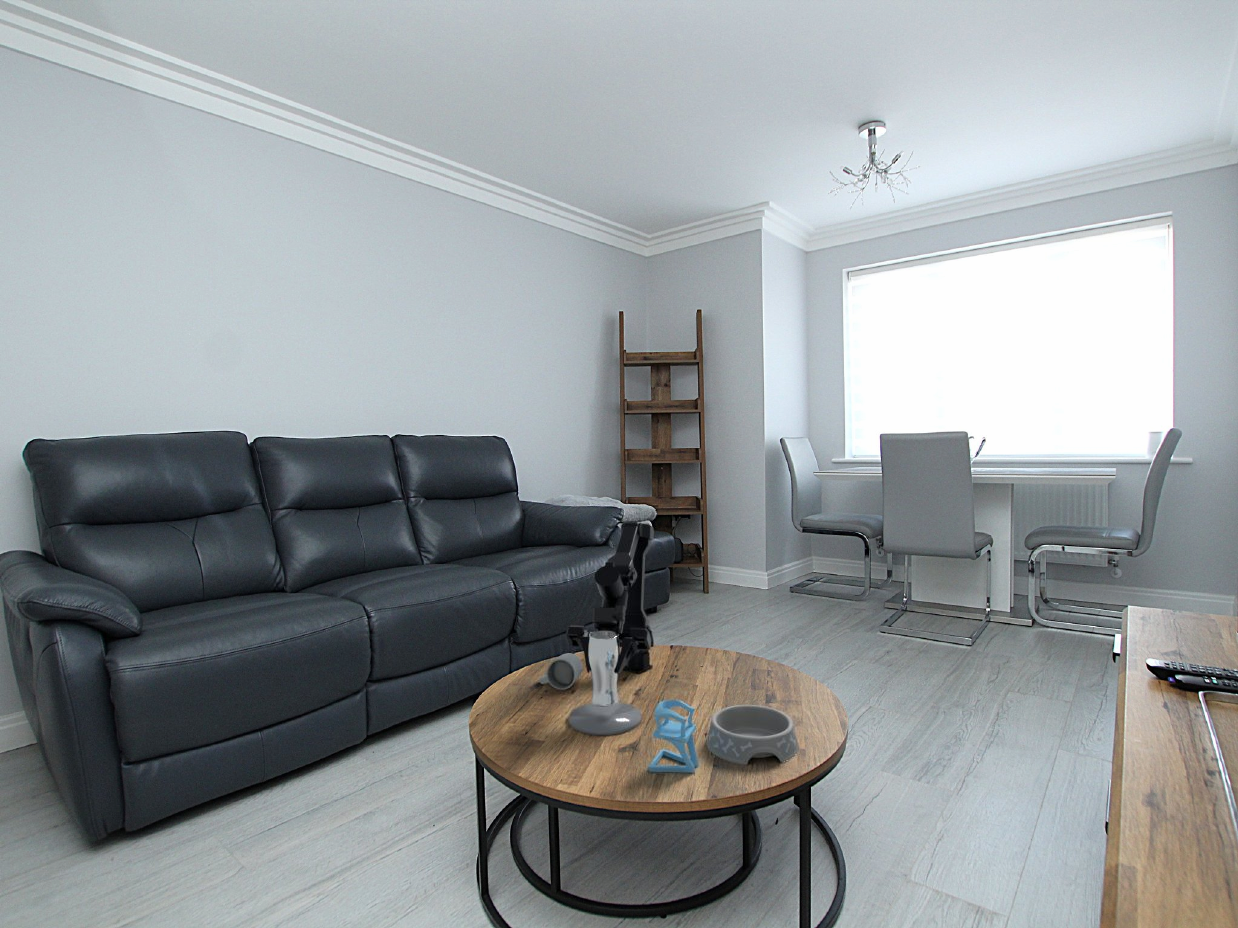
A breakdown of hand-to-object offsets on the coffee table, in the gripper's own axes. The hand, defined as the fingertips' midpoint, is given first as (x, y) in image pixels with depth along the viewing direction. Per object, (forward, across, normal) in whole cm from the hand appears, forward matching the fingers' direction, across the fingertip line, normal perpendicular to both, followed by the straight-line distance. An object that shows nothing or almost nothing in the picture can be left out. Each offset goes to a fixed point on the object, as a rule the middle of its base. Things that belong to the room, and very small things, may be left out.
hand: (602, 672), depth 150 cm
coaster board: (+7, 0, +8) cm, 11 cm away
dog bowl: (+12, +32, +4) cm, 35 cm away
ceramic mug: (-6, -17, +23) cm, 29 cm away
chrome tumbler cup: (+4, 0, +6) cm, 7 cm away
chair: (+20, +18, -5) cm, 27 cm away
